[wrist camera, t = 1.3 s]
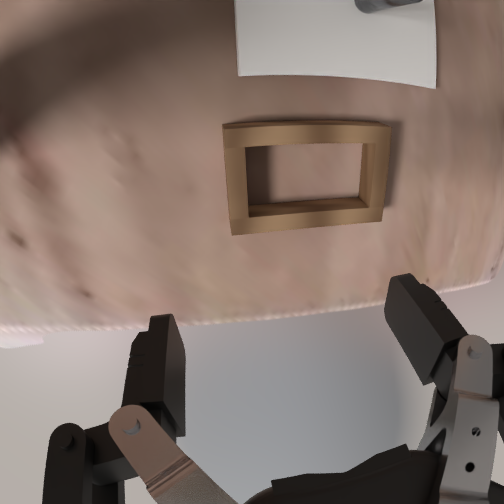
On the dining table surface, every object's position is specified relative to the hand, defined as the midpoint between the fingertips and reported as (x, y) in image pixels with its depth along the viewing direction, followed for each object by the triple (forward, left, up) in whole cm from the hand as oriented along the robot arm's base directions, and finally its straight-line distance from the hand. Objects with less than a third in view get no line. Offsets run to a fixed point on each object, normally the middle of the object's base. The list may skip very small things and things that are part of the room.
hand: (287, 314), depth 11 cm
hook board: (+9, +15, -18) cm, 25 cm away
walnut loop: (+6, -1, -18) cm, 19 cm away
